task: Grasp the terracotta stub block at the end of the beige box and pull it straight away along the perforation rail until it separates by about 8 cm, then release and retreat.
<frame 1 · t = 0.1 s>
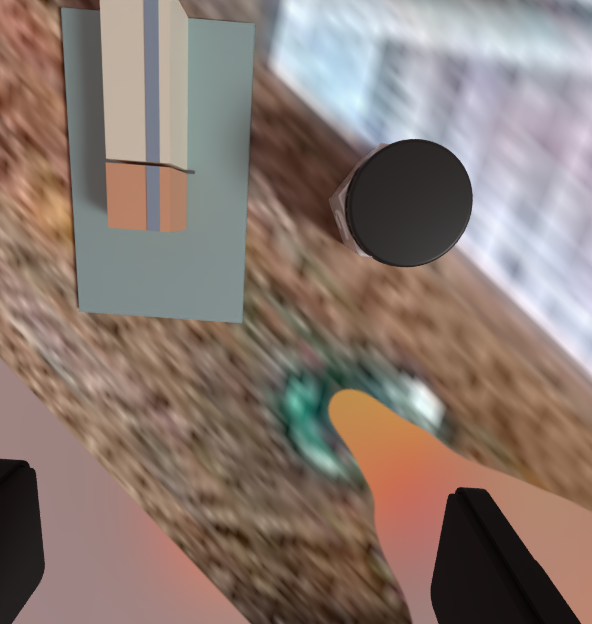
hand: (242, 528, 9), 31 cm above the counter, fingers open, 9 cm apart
beige box: (158, 94, 34), resting on mat
stub: (149, 199, 34), point 3 cm above the counter, slide at 0.0 cm
mat: (161, 180, 37), on the counter
jar: (374, 207, 38), on the counter
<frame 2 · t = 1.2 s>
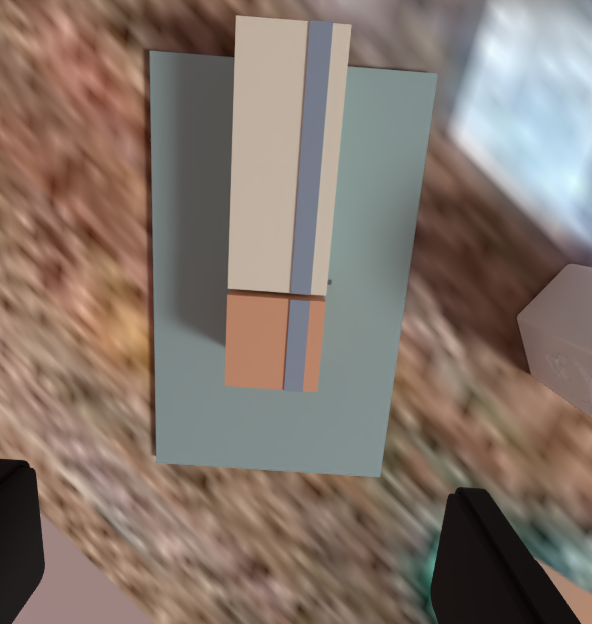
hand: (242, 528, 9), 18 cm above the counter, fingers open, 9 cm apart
beige box: (287, 175, 24), resting on mat
stub: (276, 331, 23), point 3 cm above the counter, slide at 0.0 cm
mat: (280, 290, 26), on the counter
jar: (578, 325, 27), on the counter
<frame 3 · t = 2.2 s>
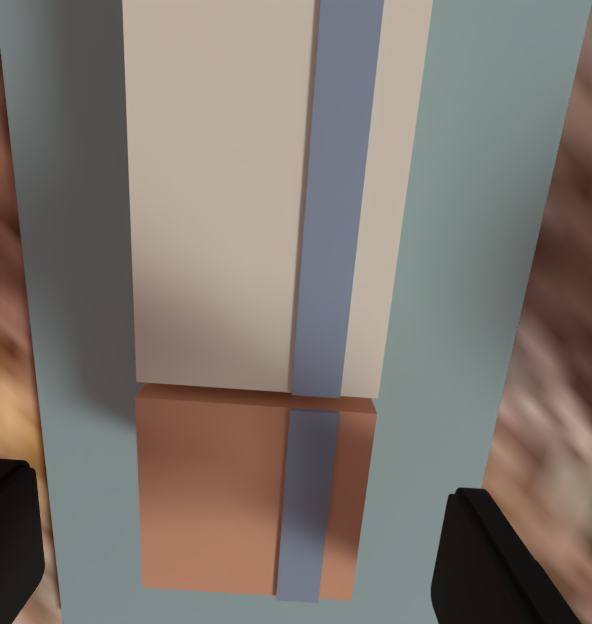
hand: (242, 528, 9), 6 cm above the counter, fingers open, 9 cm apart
beige box: (284, 122, 11), resting on mat
stub: (261, 443, 11), point 3 cm above the counter, slide at 0.0 cm
mat: (272, 343, 14), on the counter
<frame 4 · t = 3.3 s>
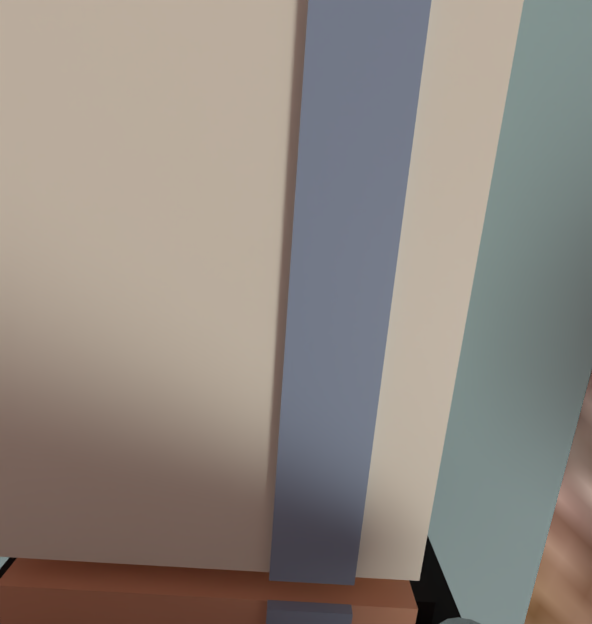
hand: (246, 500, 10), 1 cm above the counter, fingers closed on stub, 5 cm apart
beige box: (267, 118, 8), resting on mat
stub: (233, 581, 8), point 3 cm above the counter, slide at 0.0 cm, touching gripper
mat: (254, 414, 10), on the counter
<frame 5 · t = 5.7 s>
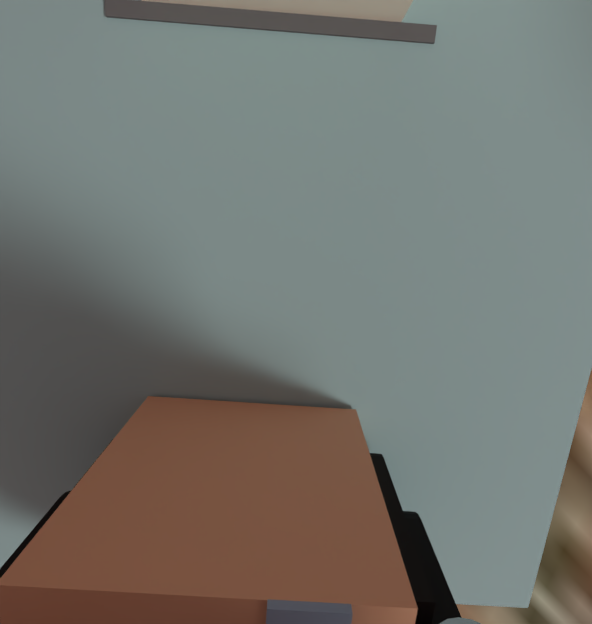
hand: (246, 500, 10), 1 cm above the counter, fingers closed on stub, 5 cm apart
stub: (232, 582, 8), point 3 cm above the counter, slide at 7.9 cm, touching gripper
mat: (271, 80, 9), on the counter
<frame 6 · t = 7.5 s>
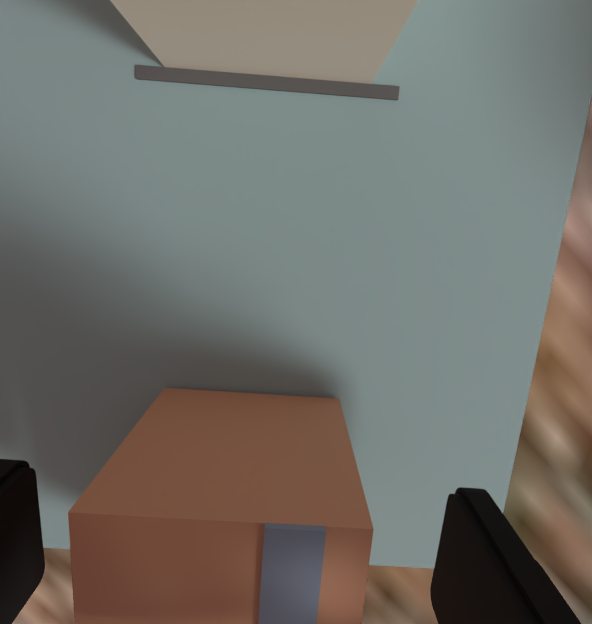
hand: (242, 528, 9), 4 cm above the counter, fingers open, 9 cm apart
stub: (236, 535, 9), point 3 cm above the counter, slide at 8.0 cm
mat: (268, 126, 10), on the counter
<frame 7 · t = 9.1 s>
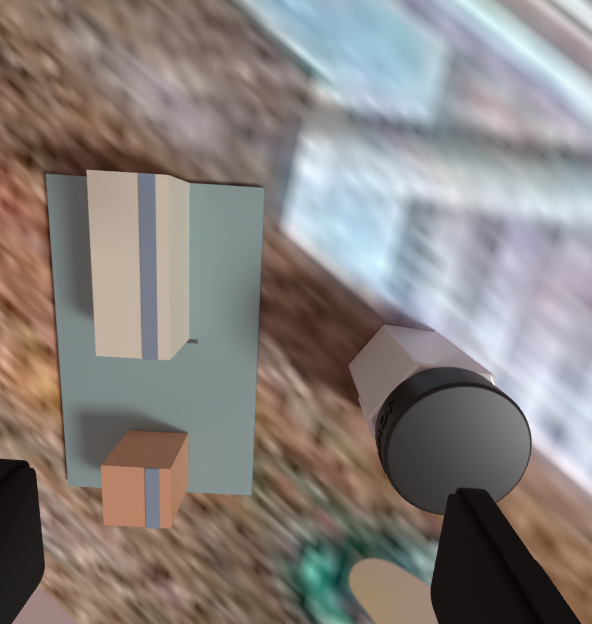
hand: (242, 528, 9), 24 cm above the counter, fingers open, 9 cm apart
beige box: (156, 262, 31), resting on mat
stub: (148, 476, 32), point 3 cm above the counter, slide at 8.0 cm
mat: (160, 347, 33), on the counter
jar: (400, 371, 33), on the counter
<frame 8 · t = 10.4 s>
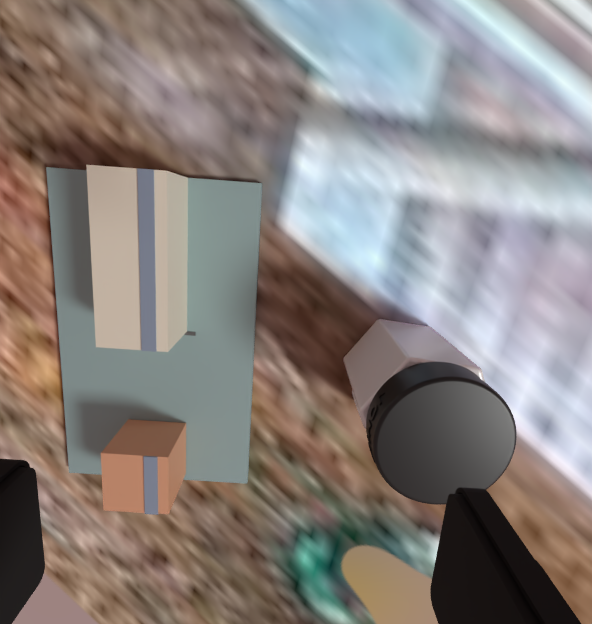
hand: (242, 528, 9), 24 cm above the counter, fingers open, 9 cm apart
beige box: (155, 255, 31), resting on mat
stub: (147, 464, 33), point 3 cm above the counter, slide at 8.0 cm
mat: (159, 338, 33), on the counter
jar: (393, 364, 34), on the counter
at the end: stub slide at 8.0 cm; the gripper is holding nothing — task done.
